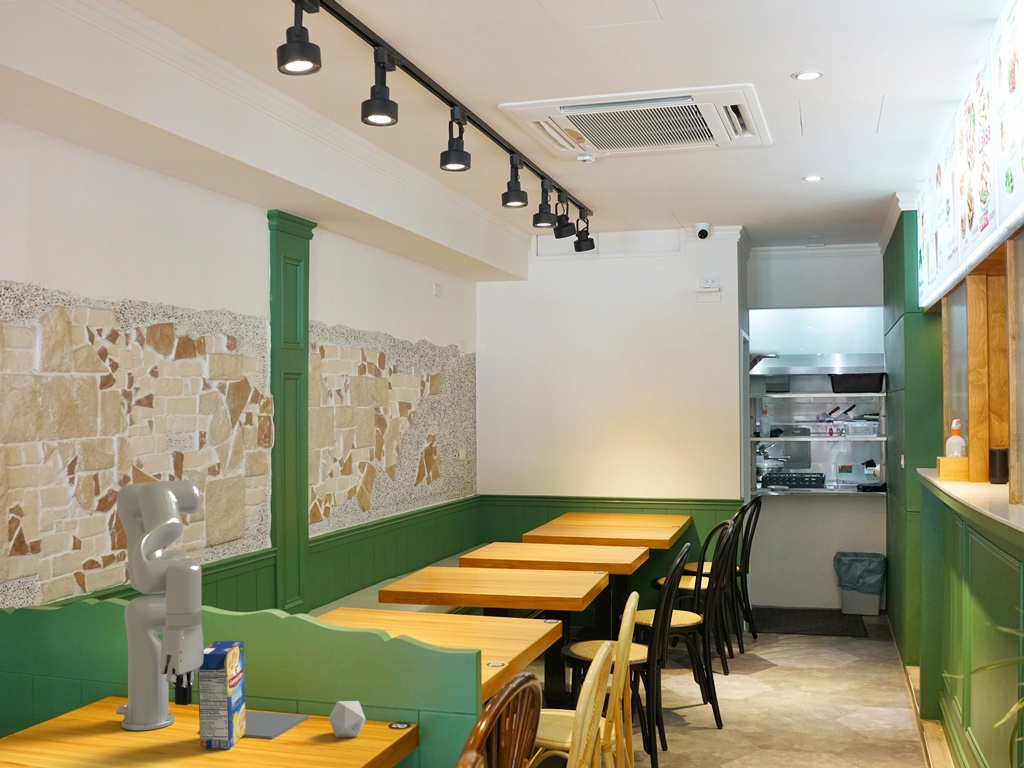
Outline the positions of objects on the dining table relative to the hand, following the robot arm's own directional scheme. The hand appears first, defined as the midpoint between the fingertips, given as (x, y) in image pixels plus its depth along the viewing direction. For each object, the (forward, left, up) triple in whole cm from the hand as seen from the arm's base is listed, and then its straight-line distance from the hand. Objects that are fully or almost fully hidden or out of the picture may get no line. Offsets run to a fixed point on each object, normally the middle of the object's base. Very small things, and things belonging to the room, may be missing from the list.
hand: (183, 703), depth 218 cm
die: (+26, +28, -13) cm, 40 cm away
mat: (0, +30, -13) cm, 32 cm away
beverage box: (0, +16, -13) cm, 20 cm away
